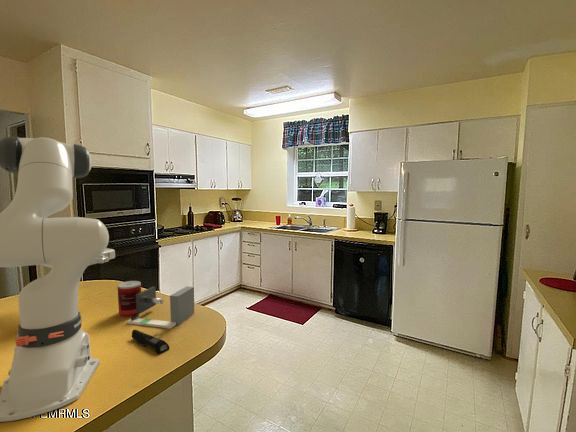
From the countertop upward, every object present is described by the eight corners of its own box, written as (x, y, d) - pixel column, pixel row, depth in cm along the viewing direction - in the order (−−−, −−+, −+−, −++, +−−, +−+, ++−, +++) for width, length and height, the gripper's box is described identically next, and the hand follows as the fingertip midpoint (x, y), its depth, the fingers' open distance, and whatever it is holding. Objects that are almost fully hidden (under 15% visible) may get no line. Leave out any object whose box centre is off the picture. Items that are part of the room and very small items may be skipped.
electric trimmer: (140, 336, 93) (139, 326, 93) (170, 350, 84) (170, 339, 84) (128, 341, 90) (128, 331, 89) (158, 356, 81) (158, 345, 81)
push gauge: (127, 323, 101) (125, 295, 100) (152, 308, 113) (151, 283, 112) (173, 329, 96) (172, 299, 96) (194, 313, 109) (193, 287, 108)
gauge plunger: (130, 319, 101) (129, 297, 100) (153, 306, 112) (152, 286, 112) (148, 321, 99) (147, 299, 98) (169, 307, 111) (169, 287, 110)
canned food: (135, 306, 115) (134, 279, 114) (146, 311, 110) (145, 283, 109) (114, 313, 109) (113, 284, 108) (125, 318, 104) (123, 288, 103)
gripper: (48, 255, 103) (80, 258, 100) (97, 245, 123) (125, 246, 120) (49, 273, 103) (81, 276, 100) (98, 259, 123) (126, 261, 120)
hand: (105, 260), depth 110 cm, fingers closed
